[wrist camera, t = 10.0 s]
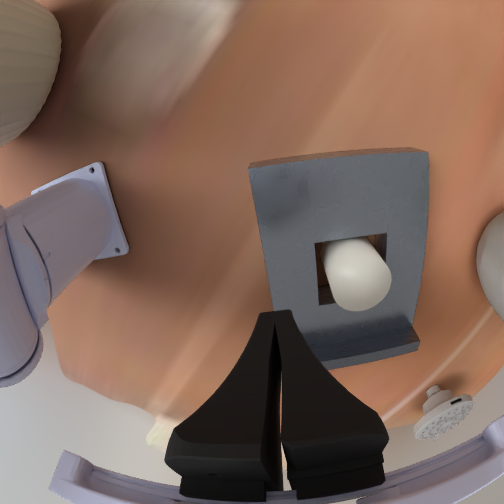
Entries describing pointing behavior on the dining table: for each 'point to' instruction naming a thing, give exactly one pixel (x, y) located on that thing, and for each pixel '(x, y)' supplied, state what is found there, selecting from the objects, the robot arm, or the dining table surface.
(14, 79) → the canister
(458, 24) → the dining table surface
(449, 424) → the showerhead
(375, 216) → the jig
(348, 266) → the white rounded capsule
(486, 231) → the grey green bottle
